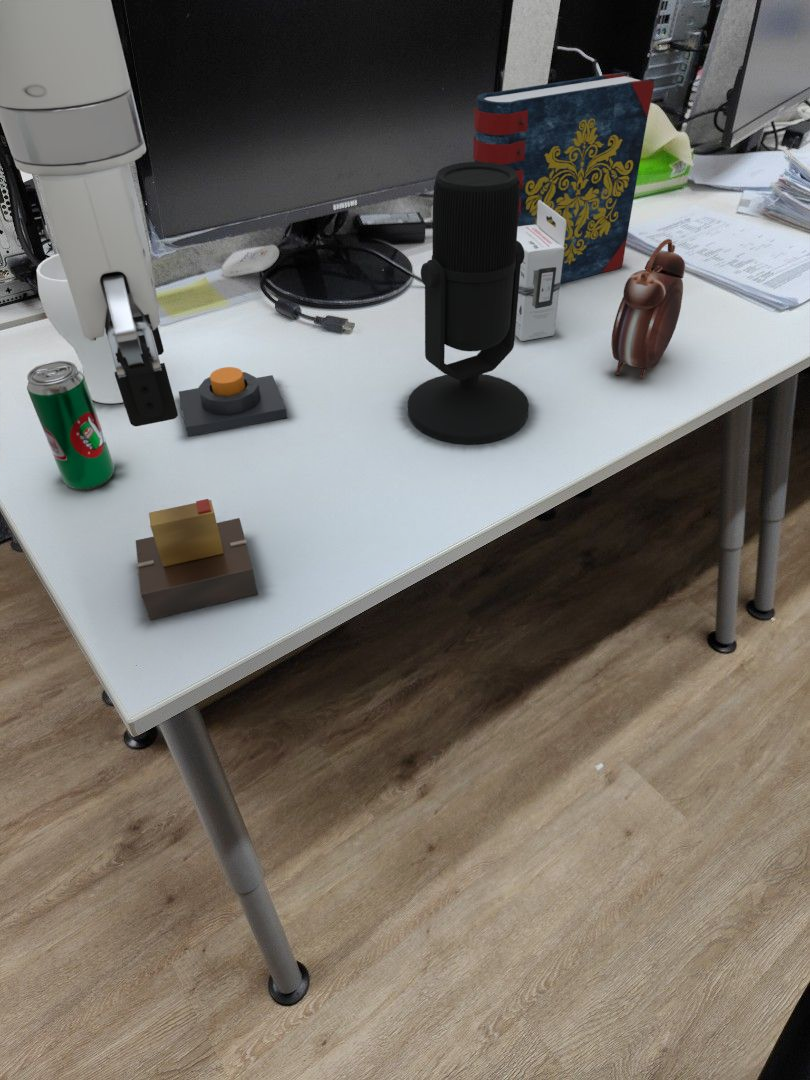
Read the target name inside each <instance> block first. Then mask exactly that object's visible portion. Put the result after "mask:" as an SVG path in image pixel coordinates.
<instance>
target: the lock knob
mask: <svg viewBox="0 0 810 1080" xmlns="http://www.w3.org/2000/svg"><path fill="white" fill-rule="evenodd" d="M213 505H214V504H213V502H212V499H209V498H205V499H201V500H196V501H195V502H192V503H189V504H184V505H183V504H182V505H178V506H173V507H168V508H164V509H159V510H154V511H151V512H149V513H148V517H149V526H150V529H151V533H152V537H153V536H154V539H155V542H156V546H157V549H158V552H159V555H160V558H161V561H162V565H163V567H166V566H170V565H174V564H179V563H183V562H188V561H192V560H197V559H201V558H206V557H210V556H214V555H219V554H223V553H224V552H223V547H222V543H221V539H220V534H219V530H218V526H217V523H218V522H217V518H216V514H215V509H214V506H213Z"/></svg>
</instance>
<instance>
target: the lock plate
mask: <svg viewBox="0 0 810 1080" xmlns="http://www.w3.org/2000/svg"><path fill="white" fill-rule="evenodd" d="M217 526H218V530H219V534H220V539H221V543H222V547H223V552H224V553H223V554H219V555H214V556H210V557H206V558H201V559H197V560H192V561H188V562H183V563H179V564H174V565H170V566H166V567H163V565H162V561H161V558H160V555H159V552H158V549H157V546H156V542H155V539H154V536H153V535H152V536H149V537H145V538H141V539H140V538H139V539H136V540H135V549H136V558H137V559H136V560H137V563H135V567H136V569H138V579H139V588H140V589H139V590H140V596H141V600H142V603H143V605H144V608H145V611H146V613H147V616H148V619H149V621H151V620H156V619H160V618H164V617H168V616H172V615H176V614H180V613H185V612H189V611H194V610H198V609H202V608H207V607H209V606H215V605H219V604H223V603H227V602H231V601H235V600H240V599H244V598H249V597H252V596H255V595H258V594H259V591H258V586H257V581H256V577H255V572H254V568H253V563H252V560H251V556H250V552H249V550H248V549H249V548H248V545H247V544H248V539H246V537H245V533H244V529H243V525H242V522H241V519H240V517H238V518H232V519H229V520H223V521H219V522H217Z"/></svg>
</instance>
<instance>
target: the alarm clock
mask: <svg viewBox="0 0 810 1080" xmlns="http://www.w3.org/2000/svg"><path fill="white" fill-rule="evenodd" d="M666 246H667V250H662V249H663V248H664V247H666ZM675 250H676V246H675V244H673V241H672V239H670V238H667V239H665V240H664V239H663V240H662V242H660V244H659V245H658V246H657V247H656V249H655V250H654V251H653V252H652V254H651V255H650V257H649V258H648V260H647V262H646V264H645V266H644V269H642V270H637V271H636V272H634V273H632V274H631V275H630V277H628V278H627V280H626V282H625V284H624V287H623V296H622V299H621V301H620V302H619V306H618V309H617V312H616V315H615V319H614V321H613V327H612V333H611V343H610V344H611V345H610V346H611V353H612V357H613V359H614V360H616V361H617V367H616V371H615V373H614V374H615V376H619V375H620V371H621V369H622V367H623V366H624V365H628V366H630V367H634V368H640V375H639V378H640V379H644V378H645V376H644V374H645V372H646V370H652V369H654V368H655V367H656V366H657V364H659V362H660V360H661V359H662V358H663V355H664V353H665V352H666V350H667V348H668V346H669V344H670V342H671V340H672V338H673V336H674V332H675V330H676V327H677V324H678V321H679V317H680V313H681V309H682V302H683V301H682V300H683V297H684V296H683V294H684V282H683V279H684V276H685V272H686V262H685V260H684V258H683V257H682V256H681V255H679V254H678V253H675Z"/></svg>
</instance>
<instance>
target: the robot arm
mask: <svg viewBox="0 0 810 1080" xmlns="http://www.w3.org/2000/svg"><path fill="white" fill-rule="evenodd" d="M113 7H114V6H113V3H112V0H0V124H1V127H2V130H3V133H4V136H5V139H6V143H7V144H8V145H7V146H8V147H9V151H10V154H11V156H12V159H13V162H14V165H15V167H16V169H17V170H19V171H20V172H22V173H26V174H28V175H35V176H37V179H38V183H39V188H40V192H41V196H42V200H43V203H44V208H45V211H46V215H47V218H48V222H49V225H50V229H51V232H52V236H53V238H54V242H55V246H56V248H57V252H58V253H59V255H60V259H61V262H62V265H63V268H64V271H65V274H66V278H67V281H68V284H69V287H70V291H71V294H72V297H73V300H74V304H75V307H76V310H77V314H78V317H79V320H80V324H81V327H82V331H83V334H84V336H85V337H86V338H87V339H89V340H91V341H96V338H97V337H103V336H104V329H106V335H107V337H108V341H109V345H110V349H111V352H112V356H113V360H114V364H115V368H116V372H115V377H116V380H117V383H118V387H119V390H120V393H121V396H122V399H123V402H122V403H123V405H124V408H125V411H126V415H127V418H128V422H129V423H130V425H131V426H132V427H141V426H146V425H151V424H156V423H157V424H158V423H161V422H166V421H170V420H175V419H177V418H178V417H179V416H178V415H179V414H178V413H179V412H178V408H177V404H176V400H175V397H174V394H173V390H172V386H171V383H170V378H169V375H168V371H167V367H166V363H165V362H161V361H160V356H161V355H163V354H164V352H165V350H164V345H163V342H162V338H161V334H160V330H159V326H160V324H161V319H160V311H159V303H158V296H157V288H156V287H157V286H156V282H155V275H154V270H153V269H154V267H153V264H152V263H153V262H152V258H151V253H150V247H149V242H148V236H147V234H146V228H145V225H144V220H143V215H142V212H141V207H140V202H139V200H138V199H139V198H138V195H137V191H136V186H135V182H134V179H133V178H134V177H133V175H132V171H131V170H132V169H131V167H130V163H133V162H135V161H137V160H139V159H140V158H142V157H143V155H146V152H147V146H146V143H145V142H146V141H145V138H144V135H143V130H142V126H141V122H140V118H139V113H138V110H137V105H136V101H135V97H134V92H133V87H132V84H131V79H130V76H129V75H130V74H129V72H128V67H127V63H126V58H125V55H124V49H123V46H122V42H121V41H122V40H121V38H120V33H119V28H118V24H117V20H116V16H115V12H114V8H113Z"/></svg>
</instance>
